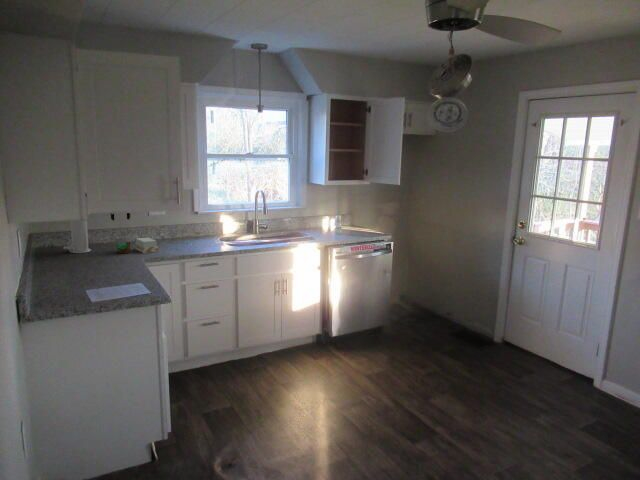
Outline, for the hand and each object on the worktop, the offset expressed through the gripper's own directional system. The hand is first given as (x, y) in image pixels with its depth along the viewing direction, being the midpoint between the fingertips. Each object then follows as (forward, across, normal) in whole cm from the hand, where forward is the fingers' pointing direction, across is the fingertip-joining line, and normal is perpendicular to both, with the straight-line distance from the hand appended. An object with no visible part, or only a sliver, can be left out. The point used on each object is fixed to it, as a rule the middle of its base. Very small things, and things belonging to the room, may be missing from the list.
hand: (120, 219), depth 305 cm
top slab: (+19, +17, 0) cm, 25 cm away
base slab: (+23, +17, 0) cm, 28 cm away
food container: (+22, 0, 0) cm, 22 cm away
